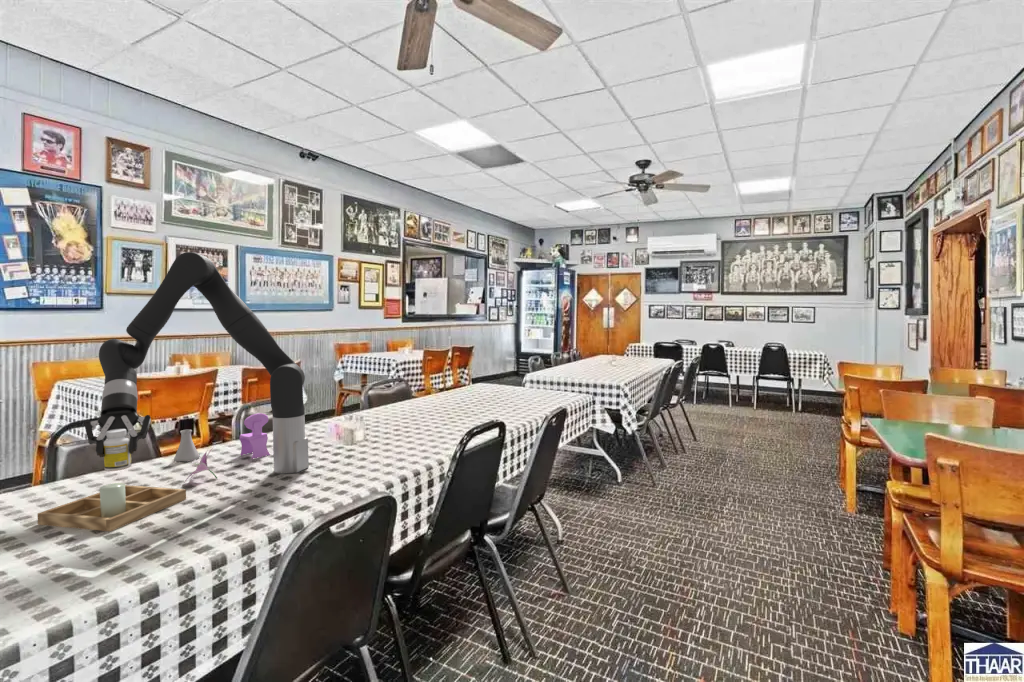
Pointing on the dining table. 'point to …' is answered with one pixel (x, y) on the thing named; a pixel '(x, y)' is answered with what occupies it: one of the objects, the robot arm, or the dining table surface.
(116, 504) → the cylinder
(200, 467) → the lily
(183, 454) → the flask
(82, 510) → the caddy
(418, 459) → the dining table surface
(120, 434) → the supplement bottle
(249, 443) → the toy chair
